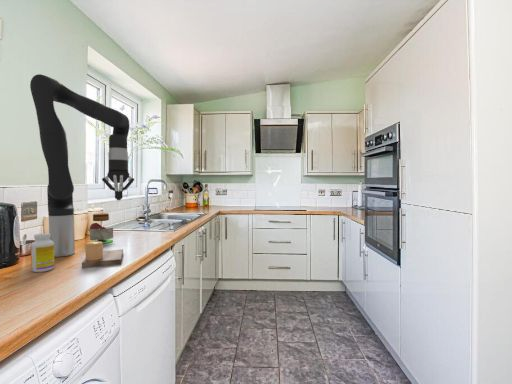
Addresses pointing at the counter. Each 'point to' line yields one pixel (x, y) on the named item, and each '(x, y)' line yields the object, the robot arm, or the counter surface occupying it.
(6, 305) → the counter surface
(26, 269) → the counter surface
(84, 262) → the board
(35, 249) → the supplement bottle
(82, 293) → the counter surface
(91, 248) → the tan wooden cube
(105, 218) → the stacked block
